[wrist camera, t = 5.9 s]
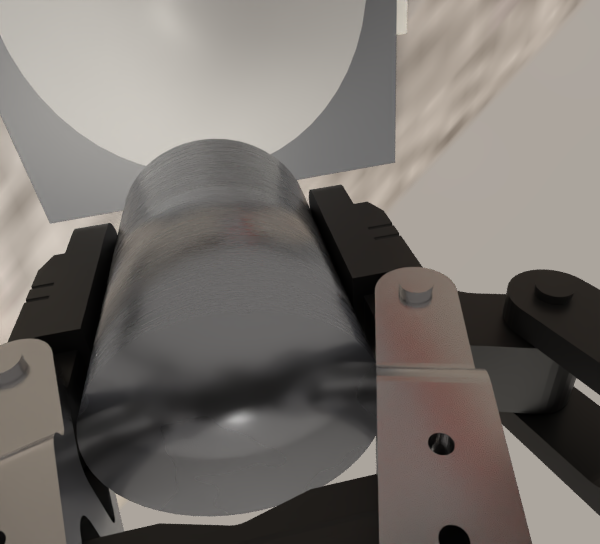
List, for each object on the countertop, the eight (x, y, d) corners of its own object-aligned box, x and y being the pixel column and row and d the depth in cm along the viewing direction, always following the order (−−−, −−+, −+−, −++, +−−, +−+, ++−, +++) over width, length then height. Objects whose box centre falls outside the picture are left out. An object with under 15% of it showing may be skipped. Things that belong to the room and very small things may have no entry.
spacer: (95, 156, 11) (20, 351, 6) (299, 124, 11) (388, 281, 6) (151, 313, 13) (131, 539, 8) (313, 282, 14) (385, 481, 9)
